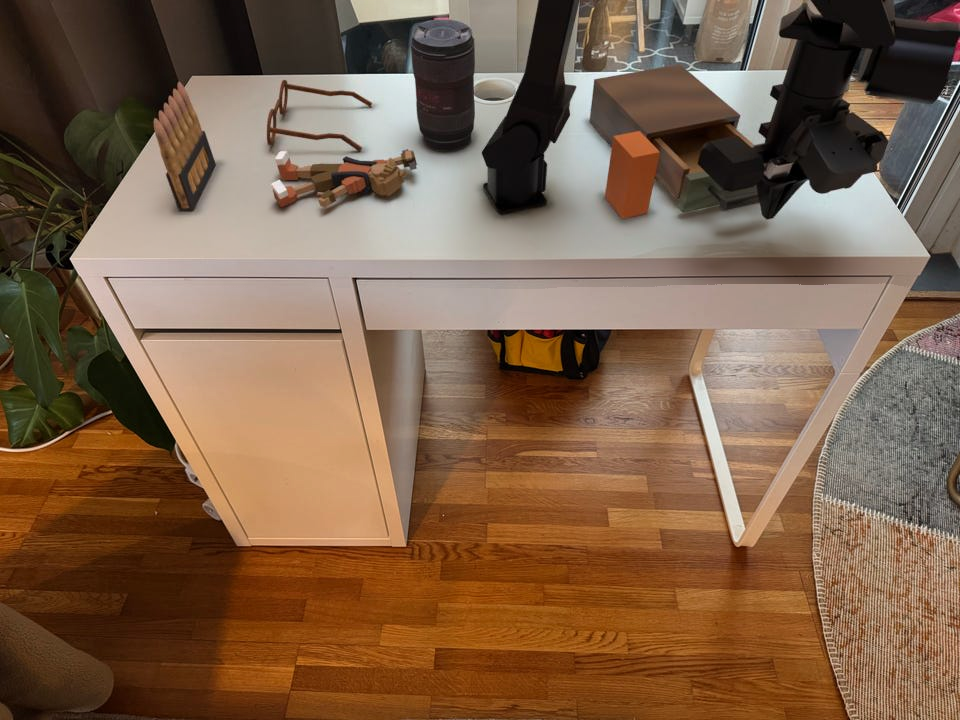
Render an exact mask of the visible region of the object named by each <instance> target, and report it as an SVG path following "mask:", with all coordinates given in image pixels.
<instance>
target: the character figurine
mask: <svg viewBox="0 0 960 720" xmlns="http://www.w3.org/2000/svg"><path fill="white" fill-rule="evenodd" d="M414 152H415V151H414V150H411V149H408V148H406V149H403V150H401V153H400V156H397V157H394V158H392V157H389V158H388V159H374V160H359V159H355V158H352V157H349V156H347V155H346V156H344V157H343V158H342V161H343V163H313V164H312V165H306V166H302V167H299V165H297V164H294V163H292V162H291V159H290V157H289V153H288V150H281V151H278V153H277V155H276V157H275V158H274V160H275V163H276V165H277V169H278V173H279V175H280V178H281V180H280V179H278V180H275V181H274V182H272V183H271V187H272V193H273V198H274V200H276V203H277V204H278V205H279V207H280V208H283V207H285V206H288V205H290V204H292V203H294V202H295V201H296V200H298V196H299V195H300V196H301V195H304V194H307V193H309V192H312V191H315V192H316V196H318V197H319V198H318V199H317V200H318V203H319V206H320V207H322V208H325V209H326V208H327V207H328V206H330V205H331V204H333V203H335V202H337V198H339V197H341V196H343V195H345V194H348V195H351V194H357V193H358V192H359V193H361V194H366V193H368V192H369V190H370V189H372V192H375V193H376V194H377V195H380V196H387V197H390V196H391V195H392V194H393V193H395V192H396V191H397V190H398V189H400V188H402V186H403V184H404V182H405V181H406V179H405V177H407V171H406V169H405V168H408V169H409V171H414V170H417V169H418V168H417V165H418V163H417V159H416V155H415V153H414ZM401 165H402V166H403V168H402V169H401V168H400V167H399V166H401ZM299 178H307V179H309V178H310V181H309V182H307V183H304V184H301V185H298V186H295V187H293V185H287V186H285V184H283V182H282V181H298V179H299ZM333 188H334V189H333ZM331 189H332V190H331Z"/></svg>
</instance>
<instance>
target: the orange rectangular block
mask: <svg viewBox="0 0 960 720" xmlns="http://www.w3.org/2000/svg"><path fill="white" fill-rule="evenodd" d="M659 154H660V152H659V151H658V149H657V148H656V147H655V146H654V145H653V144H652V143H651V142H650V141H649V140H648V139H647V138H646V137H645V136H644V135H643V134H642V133H641V132H640V131H637V132H632V133H627V134H622V135H617V136H613V143H612V147H611V151H610V158H609V164H608V171H607V178H606V186H605V191H604V198H605V199H606V200H607V202H608V203H609V204H610V205H611V206H612V208H613V209H614V210H615V212H616V213H617V214H618V216H619V217H620V218H621V219H623V220H624V219H628V218H632V217H637V216H642V215H646V214H648V213H649V208H650V204H651V198H652V194H653V188H654V184H655V180H656V176H655V174H656V169H657V164H658V159H659Z"/></svg>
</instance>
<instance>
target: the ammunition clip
mask: <svg viewBox="0 0 960 720" xmlns="http://www.w3.org/2000/svg"><path fill="white" fill-rule="evenodd" d="M153 128H154V129H153V130H154V134H155V137H156V140H157V144H158V146H159V150H160V156H161V158H162V159H161V160H162V161H163V164H164V167H165V170H166V173H165V177H166V179H167V182H168V185H169V187H170V191H171V193H172V196H173V199H174V201H175V204H176V207H177V210H178V211H179V212H181V211H183V212H185V211H186V212H188V211H190V212H191V211H194V210H195V209H196V206H197V204H198V202H199V200H200V199H201V196H202V194H203V192H204V190H205V188H206V186H207V185H208V182H209V181H210V178H211V176H212V174H213V172H214V169H215V168H216V166H217V163H216V160H215V158H214V155H213V152H212V149H211V146H210V143H209V140H208V137H207V133H206V131H205V130H203V129H202V127H201V123H200V120H199V117H198V114H197V112H196V110H195V109H194V106H193V104H192V102H191V99H190V96H189V94H188V92H187V90H186V87H185V86H184V85H183V83H182V82H180V81H178V82H177V89H176V88H173V89H172V95H168V101H167V102H164V103H163V110H159V111H158V118H156V117H154V118H153Z"/></svg>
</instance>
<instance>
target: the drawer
mask: <svg viewBox="0 0 960 720" xmlns="http://www.w3.org/2000/svg"><path fill="white" fill-rule="evenodd" d="M733 136H739V137H740V138H741V139H743V140H744V141H745V142H746V143H747V144H748V145H749V146H752V145H755V144H754V143H753V142H752V141H750V140H749V139H748V138H747V137H746V136H745V135H744V134H743V133H741V132H740V131H739V130H738V129H735V128H734V127H733V126H732V125H731V124H730V123H729V122H727V123H722V124H717V125H712V126H707V127H702V128H697V129H692V130H687V131H682V132H677V133H672V134H667V135H662V136H657V137H652V138H651V141H650V142H651V143H652V144H653V145H654V146H655V147H656V148H657V149H658V151H659V152H660V154H659V159H658V164H657V169H656V174H655V178H656V179H658V181H659V182H660V183H661V184H662V185H663V186H664V188H665V189H667V191H668V192H669V193H670V194H671V195H672V196H673V197H674V198H675V199H676V201H678V205H677V209H678V211H679V212H681V214H685V213H690V212H694V211H699V210H703V209H707V208H712V207H717V206H719V209H720V210H721V211H723V212H727V211H732V210H737V209H740V208H743V207H749V206H753V205H757V204H760V203H759V198H758V192H757V187H756V185H755V186H754V187H751V188H747V189H742V190H738V191H733V192H730V191H726V190H723V189H722V188H721V187H720V186H719V185H718V184H717V183H716V182H715V181H714V180H713V179H712V178H711V177H710V176H709V175H708V174H707V173H706V172H705V171H704V170H703V169H702V168H701V167H700V166H699V165H698V164H697V163H698V159H699V155H700V151H701V149H702V146H703V145H704V144H705V143H707V142H709V141H713V140H718V139H723V138H728V137H733Z"/></svg>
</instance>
